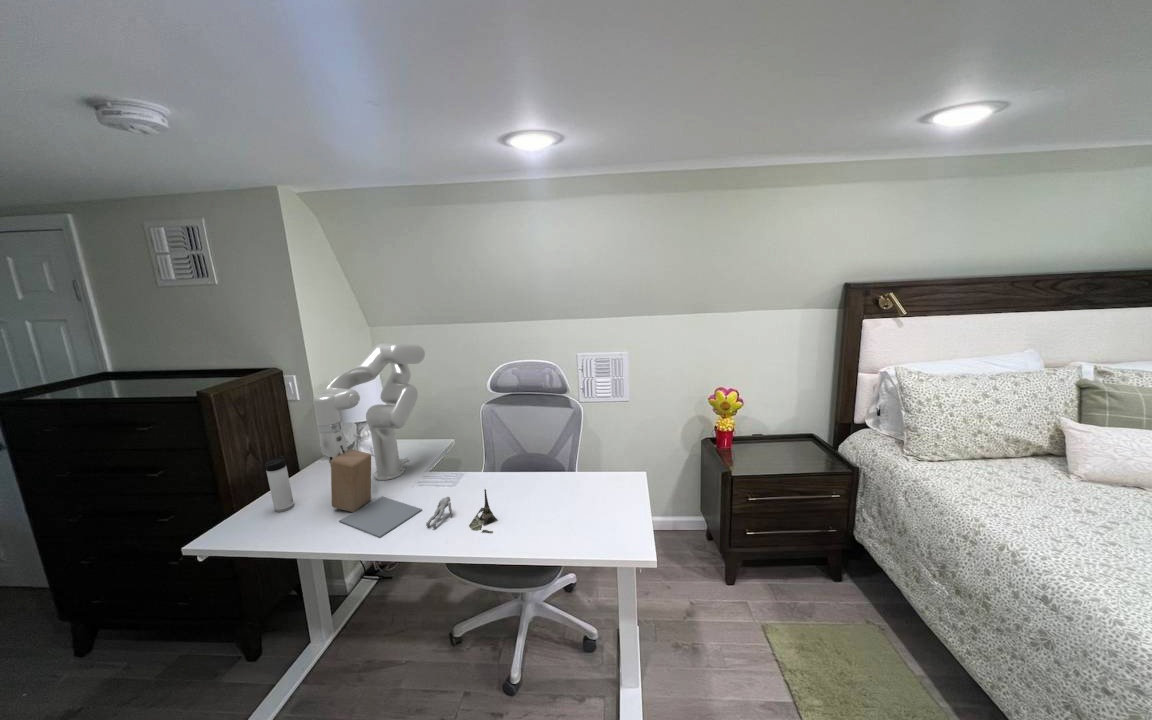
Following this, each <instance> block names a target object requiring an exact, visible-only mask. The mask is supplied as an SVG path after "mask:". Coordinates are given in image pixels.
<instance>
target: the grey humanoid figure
mask: <svg viewBox="0 0 1152 720" xmlns="http://www.w3.org/2000/svg"><path fill="white" fill-rule="evenodd" d="M436 507H437V508H436V510H435V511H434V514H433V515H432V516H431V517H430V518H429V519H428V521H427V522H426V523H425V524H426V527H427V528H430V526H432V528H434V529H437V522H438V521H439V522H440V520H441V518H442V517H443V515H444V514H445V511H446V508H448V511H449V516H450V518H452V517H453V514H452V513H453V509H452V501H451V497H450V496H446V497H442V498H441V499H440V500H439V502H438V505H437V506H436Z"/></svg>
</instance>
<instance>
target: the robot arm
mask: <svg viewBox="0 0 1152 720" xmlns="http://www.w3.org/2000/svg"><path fill="white" fill-rule="evenodd" d="M425 355H426V353H425V349H424V348H423V347H422V346H421V345H419V344H402V343H384V342H383V343H378V344H376V345H374V346H373V348H371V350H369V352H368V353H367V354H366V355H365V356H364V357H363V358H362V360H361V361H359V363H358V364H357V365H356V366H354V367H352V368H350V369H348V370H346V371H344V372H343V373H341V374H340V375H338V376H336V377H335V378H334V379H333V380H332V381H331V382H330V383H329V384H328V385H327V386H326V388H325V389H324V390H323V391H322V393H321V394H319V395H315V396H314V397H313V401H312V402H313V403H312V404H313V409H314V414H315V420H316V425H317V432H318V435H319V437H318V438H319V445H320V451H321V454H322V455H324V456H325V457H326V458H327V459H328V462H329V464H330V466H331V460H332V459H333V458H335V457H336V456H338V455H341V454H343V452H345V453H346V452H348V450H349V449H348V444H347V441H346V437H345V435H344V431H343V429H342V424H341V417H340V411H345V410H349V409H353V408H355V407H356V406H358V404H359V403H360V400H361V395H360V394H359V392H358V391H357V390H355V389H352V388H353V387H356V386H359V385H362V384H367V383H368V382H371V381H373V380H375V379H376V378H377V377H378V376H379V375H380V373H381V372H382V371H383V370H384V368H385V367H386V366H387V365H389V364H390V365H391V371H390V375H389V376H388V378H387V381H386V382H385V385H384V386H383V388H382V390H381V392H380V400H381V401H382V402H383V403H384V404H382V403H381V404H374V405H371V406H370V407H369V408H368V409H367V410H366V414H365V421H366V423H367V425H368V429H369V431H370V436H371V443H372V448H373V455H374V461H375V468H376V469H375V471H374V472H373V478H374V479H375V480H378V481H387V480H392V479H396V478H398V477H399V476H402V475H403V474H404V473H405V469H406V468H405V467H404V465H405V464H406V463H409V461H410V459H409V457H405V458H400V456H399V455H400V454H399V447H398V441H397V434H396V429H397V430H398V429H401V428H403V427H404V426H405V425H406V423H407V422H408V420H409V418H410V416H411V414H412V412H413V410H414V408H415V406H416V403H417V401H418V397H419V396H418V393H419V392H418V389H417V387H415V386H414V384H411V383H409V382H410V380H411V376H412V375H411V374H412V373H411V370H410V367H409V365H418V364H420V363H421V362H423V361H424V359H425V357H426V356H425Z"/></svg>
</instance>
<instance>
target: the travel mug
mask: <svg viewBox="0 0 1152 720" xmlns="http://www.w3.org/2000/svg"><path fill="white" fill-rule="evenodd" d="M264 466H265V472H266V476H267V482H268V485H269V489H270V490H269V491H270V494H271V499H272V503H273V504H272V505H273V508H274V512H276V513H284V512H286V511H289V510H291V509H293V507H294V506H295V502H294V497H293V493H292V487H291V482H290V477H289V472H288V467H287V464H286V456H285V455H280V456H277V457H274V458H270V459H269V460H267V461H266V462H265V465H264Z"/></svg>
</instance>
